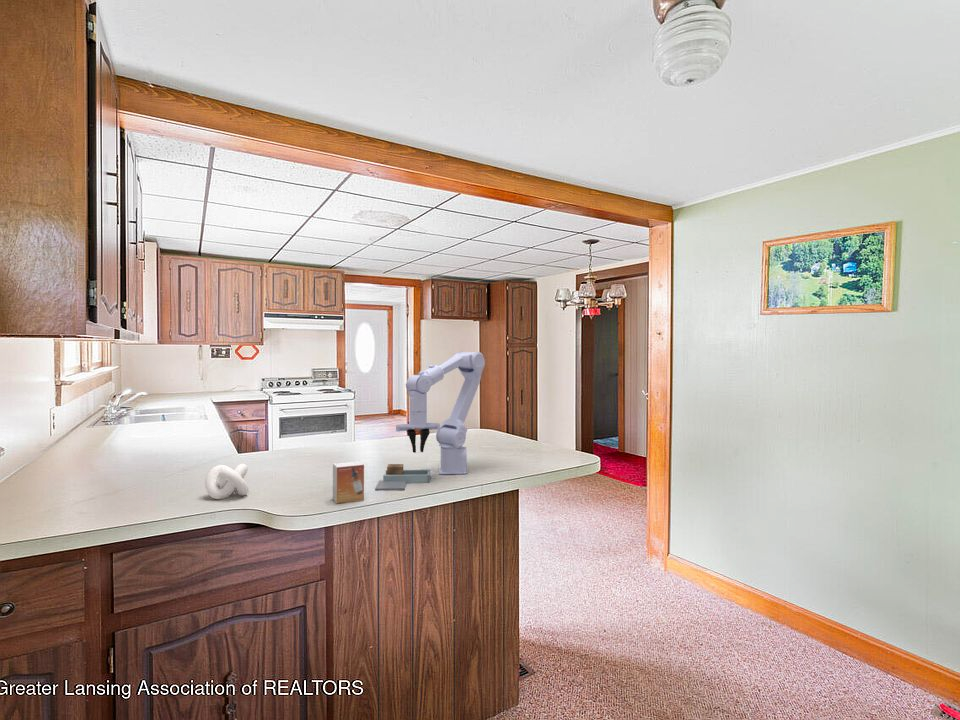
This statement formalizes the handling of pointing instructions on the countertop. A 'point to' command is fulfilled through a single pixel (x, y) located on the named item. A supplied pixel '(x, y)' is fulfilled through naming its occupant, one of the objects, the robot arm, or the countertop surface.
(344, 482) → the small box
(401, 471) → the block
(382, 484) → the coaster
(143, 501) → the countertop surface
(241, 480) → the white knot sculpture
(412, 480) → the u-shaped bracket
